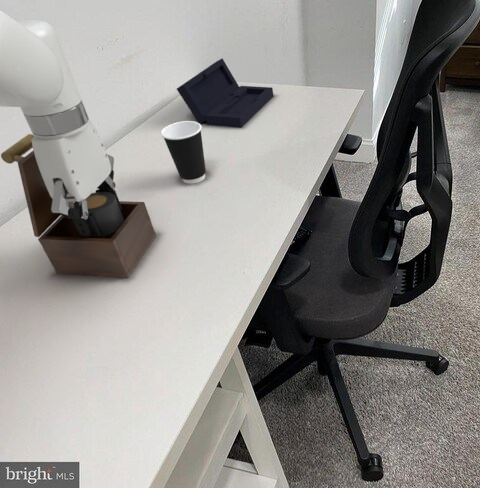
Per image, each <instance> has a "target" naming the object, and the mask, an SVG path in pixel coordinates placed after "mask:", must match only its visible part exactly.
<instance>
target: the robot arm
mask: <svg viewBox="0 0 480 488" xmlns="http://www.w3.org/2000/svg"><path fill="white" fill-rule="evenodd" d="M61 44H62V43H61V42H60V39H59V37H58V35H57V32H56V30H55V28H54V27H53V26H52V25H51V24H50V23H49V22H47V21H45V20H43V19H42V20H41V19H24V20H23V19H22V20H15V19H14V18H12V16H10V15H9V14H6V13H5V12H4V11H2V10H0V107H4V108H5V107H10V108H20V109H21V112H22V114H23V116H24V118H25V121H26V123H27V124H28V127H29V129H30V131H31V134H32V135H34V137H33V138H32V146H33V148H32V151H33V150H34V154H35V158H36V161H37V164H38V167H39V170H40V173H41V175H42V178H43V180H44V183H45V185H46V187H47V190H48V192H49V194H50V196H51V198H52V199H53V201H52V208H51V210H52V212H53V213H56V214H59V215H60V216H61V215H62V216H64V217H68V218H69V219H72V220H73V222H74V224H75V226H76V228H77V230H78V232H79V235H80V236H81V237H83V238H99V237H100V232H99V229H98V227H97V225H96V222H95V220H94V218H93V216H92V215H88V206H87V197H88V196H89V195H90V194H91V193H95V192H110V193H112V194H114V196H115V198H116V200H117V203H118V206H119V208H120V211H121V210H122V207H121V204H120V202H119V201H120V199H119V196H118V194H117V192H116V187H117V186H116V182H115V181H114V177H115V171H114V165H115V158H114V157H113V156H112V155H110V154H108V153H107V150H106V148H105V146H104V143H103V141H102V139H101V137H100V135H99V133H98V131H97V129H96V127H95V126H94V124H93V122H92V120H91V119H90V117H89V115H88V113H87V110H86V107H85V104H84V102H83V99H82V98H81V95H80V92H79V89H78V87H77V83H76V82H75V79H74V76H73V73H72V70H71V67H70V65H69V63H68V60H67V58H66V54H65V53H64V50H63V47H62V45H61ZM72 196H74V197H72ZM74 202H79V209H80V210H78V209H75V208H74Z"/></svg>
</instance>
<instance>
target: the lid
mask: <svg viewBox="0 0 480 488" xmlns="http://www.w3.org/2000/svg"><path fill="white" fill-rule="evenodd" d="M33 137H34V135H33V133H29V134H27V135H25V136H23V137H22V138H21V139H19V140H18V141H17V142H15V143H14V144H12V145H11V146H10V147H8V148H7V149H6V150H4V151H3V152H2V153H1V154H0V158H1V160H2V161H3V162H4V163H6V164H8V165H9V164H11V165H12V164H13V163H17V167H18V171H19V174H20V179H21V184H22V188H23V193H24V196H25V197H24V198H25V200H26V205H27V210H28V214H29V219H30V223H31V226H32V231H33V236H34V237H35V238H40V237H41V235H42V234H43V233H44V232H45V231H46V230H47V229H48V228H49V227H50V226H51V225H52V224H53V223H54V222H55V221H56V220H57V219H58V218H59V217H60V216H61V215H59V214H56V213H53V212H52V210H51V208H52V201H53V199H52V198H51V196H50V194H49V192H48V190H47V187H46V185H45V183H44V180H43V178H42V175H41V173H40V170H39V167H38V164H37V161H36V158H35V154H34V150H33V146H32V138H33ZM31 150H32V151H31ZM29 151H30V152H29ZM28 152H29V153H28ZM27 153H28V154H27ZM25 154H27V155H25ZM24 155H25V156H24ZM72 197H74V196H72Z"/></svg>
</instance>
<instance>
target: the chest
mask: <svg viewBox="0 0 480 488" xmlns="http://www.w3.org/2000/svg"><path fill="white" fill-rule="evenodd" d="M119 202H120V204H121V207H122V210H121V213H122V216H123V218H124V222H123V224H122V225H121V226H120V228H119V229H118V230H117V231H116V232H114V233H113V234H110V235H108V236H104V237H99V238H83V237H81V236H80V235H79V232H78V230H77V228H76V226H75V224H74V222H73V220H72V219H69V218H68V217H64V216H62V215H60V216H59V217H58V218H57V219H56V220H55V221H54V222H53V223H52V224H51V226H50V227H49V228H48V229H47V230H46V231H45V232H44V233H43V234H42V235H41V236H40V237H38V242H39V244H40V245H41V248H42V249H43V251H44V253H45V255H46V256H47V258H48V260H49V262H50V264H51V266H52V268H53V270H54V271H55V273H56V275H64V276H65V275H67V276H68V275H69V276H87V277H105V278H125V279H128V278H129V277H130V275H131V274H132V273H133V271H134V270H135V268H136V267H137V265H138V264H139V262H140V261H141V259H142V258H143V256H144V255H145V254H146V252H147V251H148V249H149V247H150V246H151V245H152V243H153V241H155V239H156V238H157V235H156V234H157V233H156V231H155V229H154V226H153V222H152V220H151V217H150V214H149V210H148V209H147V206H146V203H145V201H129V200H128V201H126V200H119ZM74 203H75V202H74Z"/></svg>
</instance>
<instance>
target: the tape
mask: <svg viewBox="0 0 480 488" xmlns="http://www.w3.org/2000/svg"><path fill="white" fill-rule="evenodd" d="M87 206H88V215H92V216H93V218H94V220H95V222H96V225H97V227H98V229H99V232H100V237H104V236H108V235H110V234H113V233H114V232H116V231H117V230H118V229H119V228H120V226H121V225H122V224H123V222H124V218H123V216H122V213H121V211H120V208H119V206H118V203H117V200H116V198H115V196H114V194H112V193H110V192H95V191H94V192H92V193H91V194H90V195H89V196H88V197H87ZM74 208H75V209H78V210H80V209H79V202H75V203H74Z"/></svg>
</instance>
